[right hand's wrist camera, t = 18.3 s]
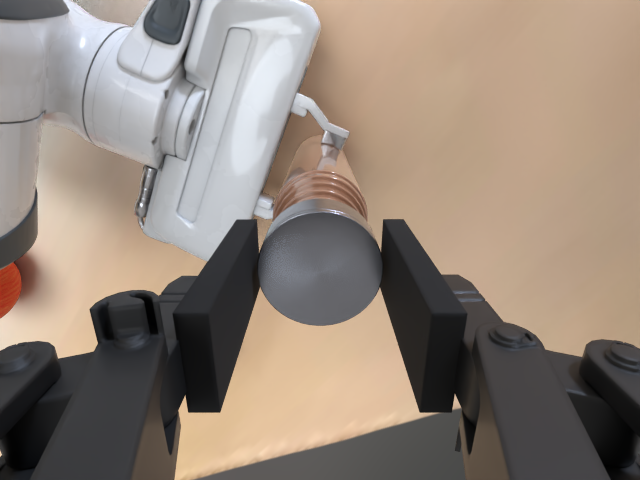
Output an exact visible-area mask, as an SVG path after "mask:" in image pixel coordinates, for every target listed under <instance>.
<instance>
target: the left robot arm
mask: <svg viewBox="0 0 640 480" xmlns="http://www.w3.org/2000/svg"><path fill="white" fill-rule="evenodd" d="M320 32H321V24H320V21H319V19H318V16H317V14H316V12H315V10H314V9H313V8H312V7H311V6H309V5H308V4H306V3H304V2H302V1H300V0H150V1H149V2H148V4H147V6H146V7H145V9H144V11H143V12H142V14H141V16H140V17H139V19H138V20H137V22H136V23H135V25H134V27H131V26H128V25H125V24H120V23H111V22H106V21H102V20H100V19H97V18H95V17H94V16H92V15H90V14H89V13H88V12H86V11H85V10H84V9H83V8H81V7H80V6H79V5H77V4H76V3H74V2H72V1H70V0H0V270H1V269H3V268H5V267H7V266H8V265H10V264H11V263H13V262H14V261H16V260H17V259H19V258H20V257H21V256H23V255H24V254H25V253H26V252H27V251H28V250H29V249H30V248H31V247H32V245H33V244H34V242H35V240H36V238H37V233H38V217H37V189H36V180H37V171H38V161H39V151H40V141H41V132H42V124H43V125H49V126H58V127H63V128H67V129H69V130H71V131H73V132H75V133H77V134H78V135H80V136H81V137H82V138H84V139H85V140H87V141H88V142H90V143H91V144H93V145H96V146H98V147H101V148H103V149H106V150H108V151H111V152H114V153H116V154H119V155H121V156H124V157H126V158H129V159H132V160H134V161H137V162H139V163H142V164H144V168H143V173H142V177H141V182H140V192H139V195H138V199H137V200H136V202H135V206H134V214H135V215H136V216H137V217H138V223H139V225H140V227H141V229H142V230H143V232H144V234H146V235H147V236H149V237H151V238H153V239H156V240H159V241H162V242H164V243H169V244H173V245H175V246H177V247H179V248H180V249H182V250H184V251H186V252H188V253H190V254H192V255H194V256H196V257H198V258H201V259H203V260H205V261H207V262H208V260H209V259H210V258H211V256H212V255H213V253H214V252H215V250H216V249H217V247H218V246H219V244H220V243H221V241H222V240H223V239H224V237H225V236H226V234H227V233H228V231H229V230H230V228H231V227H232V225H233V224H234V222H235V221H236V220H237V219H253V217H254V215H256V216H259V217H262V218H264V219H273V207H274V204H273V202H274V199H275V198H274V197H273V196H271V195H268V194H266V193H263V190H264V187H265V184H266V181H267V179H268V176H269V173H270V170H271V168H272V165H273V162H274V159H275V157H276V154H277V151H278V148H279V145H280V143H281V140H282V137H283V134H284V132H285V129H286V126H287V123H288V121H289V118H290V115H291V112H292V113H294V114H297V115H299V116H302V117H305V116H306V114H307V112H308V110H309V112H310V113H311V114H312V116H313V117H314V118H315V120H316V121H317V122H318V124H319V125H320V126H321V128H322V129H323V130H324V133H323V135H322V138H321V142H322V143H324V144H326V145H333V146H334V147H335V148H336V149H338V150H343V147H344V145H345V143H346V141H347V138H348V136H349V134H350V132H349V131H347V130H345V129H343V128H341V127H338V126H336V125H334V124H332V123H329V121H328V119H327V118H326V117H325V115H324V114H323V113H322V111H321V110H320V108H319V107H318V106H317V104H316V103H315V102H314V100H313V99H311V98H309V97H307V96H304V95H302V94H300V93H299V90H300V88H301V85H302V82H303V79H304V77H305V74H306V71H307V68H308V66H309V63H310V60H311V57H312V55H313V52H314V49H315V46H316V44H317V41H318V38H319V35H320ZM144 217H146V219H145V222H144V221H143V218H144Z"/></svg>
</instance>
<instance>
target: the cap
mask: <svg viewBox="0 0 640 480" xmlns="http://www.w3.org/2000/svg"><path fill="white" fill-rule="evenodd" d="M257 275H258V280H259V284H260V287H261V289H262V292H263V293H264V295H265V297H266V298H267V300H268V301H269V302H270V304H271V305H272V306H273V307H274V308H275V309H276V310H278V311H279V312H280V313H281V314H283V315H284V316H286V317H288V318H290V319H292V320H294V321H297V322H300V323H303V324H308V325H316V326H325V325H333V324H337V323H341V322H343V321H346V320H348V319H350V318H352V317H354V316H356V315H357V314H359V313H360V312H362V311H363V310H364V309H365V308H366V307H367V306H368V305H369V304H370V303H371V302H372V300H373V299H374V297H375V296H376V294H377V292H378V290H379V288H380V285H381V282H382V277H383V259H382V255H381V252H380V249H379V246H378V244H377V241H376V239H375V236H374V234H373V231H372V229H371V227H370V225H369V224H368V222H367V221H366V220H365V218H364V217H363V216H362V215H361V214H360V213H359V212H357V211H356V210H355V209H353V208H352V207H350V206H348V205H346V204H344V203H342V202H339V201H335V200H331V199H310V200H305V201H301V202H299V203H296V204H294V205H292V206H290V207H289V208H287V209H286V210H284V211H283V212H282V213H281V214H280V215H279V216H278V217H277V218H276V219H275V220H274V221H273V223H272V224H271V226H270V228H269V230H268V232H267V234H266V237H265V239H264V242H263V245H262V247H261V250H260V252H259V256H258V261H257Z"/></svg>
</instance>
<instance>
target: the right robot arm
mask: <svg viewBox="0 0 640 480" xmlns="http://www.w3.org/2000/svg"><path fill="white" fill-rule="evenodd" d="M381 255H382V259H383V277H382V282H381V285H380V288H381V292H382V295H383V298H384V301H385V304H386V307H387V310H388V314H389V317H390V320H391V323H392V326H393V329H394V333H395V336H396V339H397V342H398V345H399V348H400V351H401V355H402V358H403V361H404V364H405V367H406V370H407V374H408V377H409V380H410V383H411V386H412V389H413V392H414V396H415V399H416V402H417V405H418V408H419V411H420V412H452V407H453V401H454V395H455V394H456V397H457V399H458V401H459V403H460V405H461V408H462V412H461V418H460V423H459V429H458V435H457V441H456V447H455V451H458V452H460V449H461V444H462V452H463V460H464V468H465V477H466V480H640V455H639V451H640V349H639V348H637V347H635V346H634V345H631V344H628V343H623V342H621V341H615V340H614V341H612V340H603V339H601V340H594V341H591V342H589V343H588V344H587V345H586V347H585V350H584V354H583V357H579V356H574V355H568V354H563V353H558V352H553V351H549V350H545V348H544V346H543V344H542V342H541V341H540V340H539V339H538V338H537V336H536V335H534V334H533V333H531V332H530V331H528V330H527V329H524V328H522V327H519V326H517V325H514V324H510V323H505V322H503V321H502V319H501V318H500V317H499V316H498V315H497V313H496V312H495V311H494V310H493V308H492V307H491V306H490V305H489V304H488V302H487V301H485V299H484V297H483V296H482V295H481V294H479V291H478V290H477V289H476V288H475V286H474V285H473V284H472V283H471V282H470V281H468V280H466V279H464V278H463V277H461V276H459V275H441V274H440V272H439V271H438V269H437V268H436V266H435V265H434V263H433V262H432V260H431V259H430V258H429V256H428V255H427V253H426V252H425V250H424V249H423V247H422V246H421V244H420V243H419V241H418V240H417V239H416V237H415V236H414V234H413V233H412V231H411V230H410V228H409V227H408V225H407V224H406V222H405V221H404V220H403V219H383V231H382V247H381ZM258 256H259V247H258V231H257V219H237V220H236V221H235V222H234V224H233V225H232V227H231V228H230V230H229V231H228V233H227V234H226V236H225V237H224V239H223V240H222V241H221V243H220V244H219V246H218V247H217V249H216V250H215V252H214V253H213V255H212V256H211V258H210V259H209V260H208V262H207V263H206V265H205V266H204V268H203V269H202V271H201V272H200V274H199V275H198V276H181V277H179V278H178V279H176V280H174V281H173V282H171V283H169V284H168V286H167V287H166V288H165V289H164V290H163V292H162V293H161V295H159V297H158V295H156V294H155V293H154V292H150V291H146V290H131V291H126V292H120V293H117V294H114V295H111V296H108V297H106V298H104V299H102V300H100V301H98V302H97V303H95V304H94V305H93V306H92V307H91V308H90V313H91V317H92V321H93V325H94V329H95V333H96V337H97V341H98V345H97V347H96V349H95V351H94V352H90V353H86V354H81V355H75V356H70V357H65V358H60V359H58V357H57V354H56V350H55V347H54V346H53V345H51V344H50V343H48V342H41V341H35V342H24V343H19V344H18V345H16V344H15V345H12V346H9V347H7V348H5V349H3V350H1V351H0V451H1V453H2V456H1V457H0V480H174V477H175V469H176V461H177V453H178V445H179V437H180V429H181V424H180V418H179V412H178V410H179V407H180V405H181V403H182V401H183V399H184V396H185V395H186V401H187V407H188V412H220V411H221V408H222V405H223V402H224V399H225V396H226V392H227V389H228V386H229V383H230V380H231V377H232V374H233V370H234V367H235V364H236V361H237V358H238V355H239V351H240V348H241V345H242V342H243V339H244V336H245V333H246V329H247V326H248V323H249V320H250V317H251V314H252V310H253V307H254V304H255V301H256V298H257V295H258V292H259V288H260V284H259V280H258V275H257V261H258Z"/></svg>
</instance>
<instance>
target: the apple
mask: <svg viewBox="0 0 640 480" xmlns="http://www.w3.org/2000/svg"><path fill="white" fill-rule="evenodd" d="M21 287H22V283H21V275H20V272H19V270H18V268H17V266H16V265H15V264H14V263H11V264H10V265H8V266H7V267H5V268H3V269H1V270H0V318H2V317H3V316H4V315H5V314H7V313H8V312H9V311H10V310H11V309H12V307H13V306H14V305H15V303H16V301H17V300H18V298H19V295H20V292H21Z"/></svg>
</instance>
